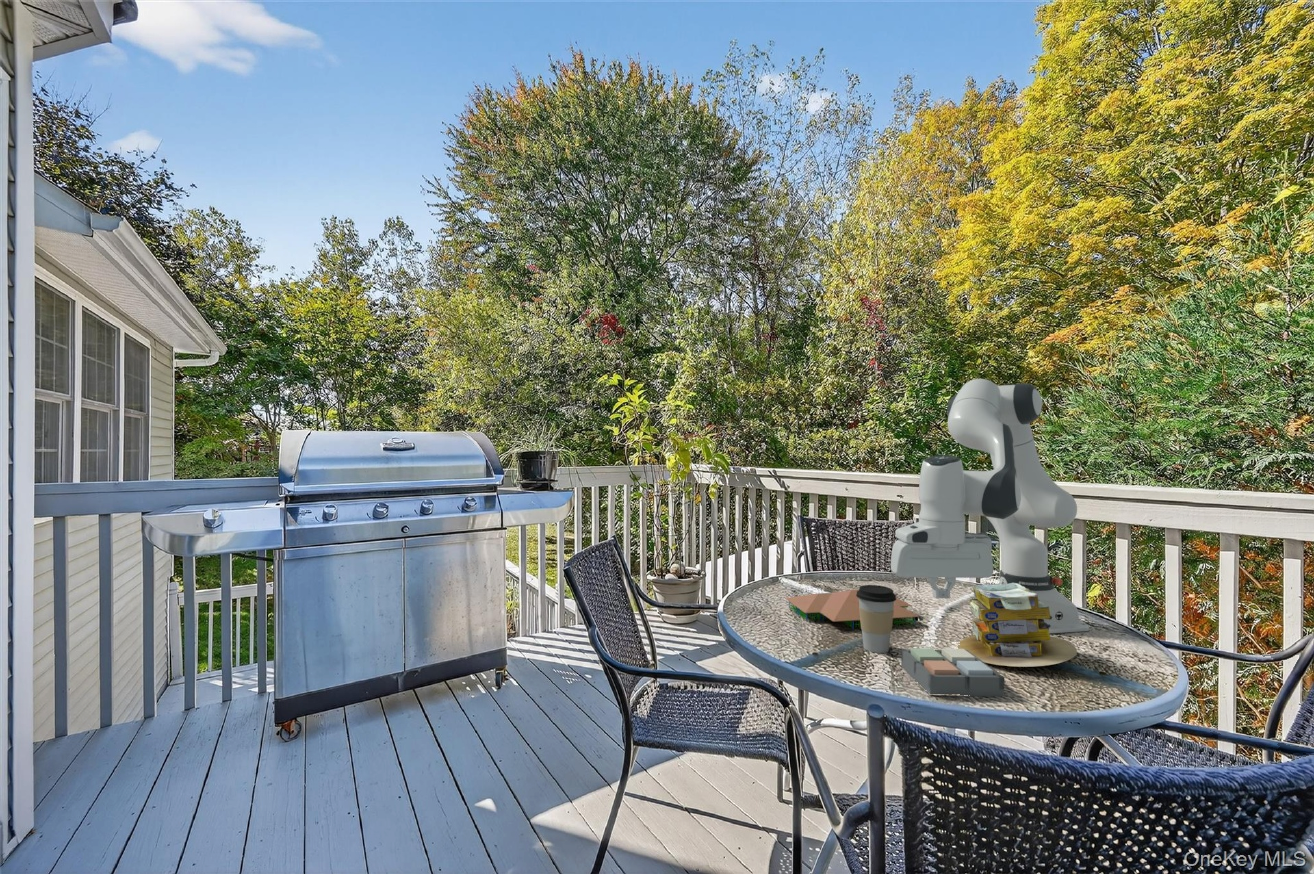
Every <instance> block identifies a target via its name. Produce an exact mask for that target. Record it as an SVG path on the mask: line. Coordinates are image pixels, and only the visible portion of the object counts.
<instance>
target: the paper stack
mask: <svg viewBox="0 0 1314 874" xmlns="http://www.w3.org/2000/svg"><path fill="white" fill-rule="evenodd" d="M1028 589H1029V588H1027V589H1026V588H1025V587H1023V586H1021V585H1020V584H1017V583H1010V584H1003V583H1001V584H1000V583H991V584H988V583H985V584H982V583H981V584H978V585H972V591H973V594H974V597H975V598H974V597H972V598H971V599H969V605H970V611H971V613H972V615H974V617H972V618H971V622H972V623H971V624H972V627H973V635H969V636H967V637H965V638H964V639H962V640H960V641H959V642H960V643H959V642H958V643H957V649H965V650H968V651H969V652H971V653H972V654H973V655H975V656H976V657H977V658H979V659H980V660H981V661H983V662H984V663H985V664H991V665H996V666H1007V667H1019V668H1021V667H1023V668H1024V667H1025V668H1026V667H1032V668H1033V667H1045V666H1051V665H1056V664H1060V663H1064V662H1067V661H1069V660H1071V659H1073V658H1074V657H1075V656H1076V655H1077V653H1078V650H1077V648H1076V647H1075V645H1073V644H1072V643H1071V642H1069V641H1067V640H1064V639H1062V638H1059V637H1056V636H1052V635H1050V633H1049V627H1050V624H1049V625H1048V624H1047V623H1045V622H1044V619H1050V618H1051V617H1050V611H1049V607H1048V606H1047V605H1045V604H1044V603H1043V602H1041V601H1040V600H1038V594H1035V593H1034V592H1032V591H1030V590H1028ZM1031 592H1032V593H1031ZM958 644H960V645H958Z"/></svg>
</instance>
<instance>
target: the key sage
mask: <svg viewBox="0 0 1314 874" xmlns="http://www.w3.org/2000/svg"><path fill="white" fill-rule="evenodd" d="M910 649H911V655H912V656H913V657H914V658H916V659H917V660H918V661H924V660H933V661H943V657H942V656H941V655H940V654H939V653H937V652H936V651H935V650H936V649H934V648H923V647H922V648H919V647H918V648H910Z"/></svg>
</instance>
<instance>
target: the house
mask: <svg viewBox="0 0 1314 874" xmlns="http://www.w3.org/2000/svg"><path fill="white" fill-rule="evenodd" d="M858 590H859V589H851V590H849V589H848V590H843V591H836V592H835V591H834V592H823V593H822V592H821V593H818V592H817V593H813V594H812V593H811V594H806V595H798V596H797V595H796V596H791V597H785V600H786V601H787V602H788V604H790V607H791V610H792V612H794V613H795V614H796V615H797V616H799V614H800V617H801V618H802V619H803V620H804V621H806V623H808V620H806V614H807V616H810V614H811V615H812V616H811V620H812V622H813V621H814V620H813V619H814V616H813V615H814V614H815V616H817V618H818V621H819V622H820V621H821V622H822V621H823V617H824V621H827V619H828V620H830V621H832V622H842V624H843V623H844V624H845V625H846V626H849V628H851V629H852V630H854V629H855V628H854V625H855V626H857V625H858V626H859V623H854V621H860V612H859V606H860V605H859V598H858V597H857V596H856V594H857V591H858ZM908 607H913V605H912V604H909V603H907V602H906V601H904V600H901V599H900V598H898V597H896V600H895V601H894V607H893V609H894V613H893V619H896V627H897V626H898V624H899V621H898V620H899V619H904V618H905V620H902V621H901V623H904V624H905V625H906V623H909V622H910V625H911V626H912V625H913V626H914V625H915V626H916V618H919V617H920V615H918V614H916V613H914V612H913V611H910V610H909V609H906V608H908ZM826 618H827V619H826ZM907 618H908V620H907ZM905 625H904V626H905ZM910 625H909V626H910ZM906 626H907V625H906Z"/></svg>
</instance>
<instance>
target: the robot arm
mask: <svg viewBox="0 0 1314 874" xmlns="http://www.w3.org/2000/svg"><path fill="white" fill-rule="evenodd" d="M946 408H947V429H948V432H949V434H950V436H951V437H952V438H953V439H954V440H955V441H956V442H957V443H958V444H960V445H962V446H963V447H966V448H968V449H972V450H977V451H982V452H984V453H987V454H990V455H989V456H990V460H991V463H992V464H991V465H992V468H993V469H991V470H965V469H964V466H963V461H962V459H961V458H960V457H958V456H954V455H948V454H947V455H945V454H943V455H940V454H939V455H933V456H928V457H926V458H925V459H923V460H922V464H921V468H920V474H919V484H918V485H919V486H918V499H919V503H920V510H919V514H918V521H917V522H914V523H911V524H909V525H906V526H901V527H898V528H896V530H895V533H894V534H895V537H896V538H897V540H896V541H895V542H894V543H893V545H892V550H891V557H890V558H891V559H890V570H891V572H892V573H893V574H894V575H895V576H897V577H899V578H926V579H927V580H926V581H927V582H928V583H929V585H930V587H931V589H932V597H933V598H934V599H948V600H949V599H950V598H951V591H952V589H953V588H954V587H955V585H956V584H957V579H959V578H960V579H963V578H964V579H968V578H969V579H971V578H972V579H977V578H979V579H980V578H981V579H984V578H985V579H989V578H991V577H992V576H993V574H994V563H993V556H992V549H993V548H992V547H993V545H992V544H993V542H992V539H991V537H990V536H989V535H987V534H985V532H977V533H975V532H966V516H965V515H970V516H971V515H972V516H981V517H983V516H984V517H985V518H986V519H987V520H989V522H990V523H991V525H992V526H993V528H994V530H995V532H996V534H997V537H998V540H999V543H1000V552H1001V555H1000V558H1001V569H1000V570H999V584H1001V583H1003V584H1010V583H1017V584H1020V585H1021V586H1023V587H1025V588H1026V589H1027V588H1029V589H1028V590H1030V591H1032V592H1034V593H1035V594H1038V600H1040V601H1041V602H1043V603H1044V604H1045V605H1047V606H1048V607H1049V611H1050V617H1051V618H1050V619H1044V622H1045V623H1047V624H1048V625H1049V624H1050V627H1049V634H1059V633H1060V634H1061V633H1062V634H1063V633H1077V632H1079V633H1080V632H1089V631H1090V627H1089V625H1088V624H1087V623H1086V622H1084V621H1082V620H1080V616H1079V611H1078V608H1077V606H1076V605H1075V603H1074V602H1072V601H1071V599H1068V598H1067V597H1066V596H1065V595H1063V593H1060V592H1059V591H1058V590H1057V589H1056V588H1055V587H1054V585H1056V586H1059V587H1060V586H1062V585H1063V580H1062V578H1059V577H1056V576H1054V577H1052V576H1050V575H1049V574H1048V559H1049V558H1048V554H1049V553H1048V552H1049V551H1048V548H1047V546H1046V545H1045V544H1044V542H1042V541H1041V540H1040V539H1038V538H1036V537H1035V535H1034V534H1033V533H1032V531H1031V530H1030V527H1029V526H1033V527H1041V528H1048V529H1049V528H1065V527H1067V526H1069V525H1070V524H1072V523H1073V522H1074V520H1075V518H1077V513H1078V505H1077V502H1076V500H1075V498H1074V497H1073V495H1072V493H1070V492H1068V491H1066V490H1065V489H1063V488H1061V486H1059V485H1058V484H1057V483H1056V482H1054V480H1053V479H1051V477H1050V476H1049V475H1048V474H1047V472H1046V471H1045V469H1044V467H1043V465H1042V463H1041V461H1040V458H1039V454H1038V451H1037V447H1036V443H1035V438H1034V434H1033V430H1032V428H1031V423H1032V422H1034V421H1036V420H1037V419H1038V418H1039V417H1040V416H1041V413H1042V408H1043V399H1042V396H1041V394H1040V393H1039V391H1038V389H1037V387H1035V386H1034V385H1033V384H1031V383H1025V382H1024V383H1016V384H1005V385H1004V384H1003V385H997V384H996V383H994V382H993V381H991V380H989V379H986V378H976V379H971V380H969V381H967V382H966V383H964V384H963V386H961V388H960V389H959V391H958V392H957V394H954V395H953V396H952V397H951V398H950V399H949V401H948V403H947V407H946ZM939 578H941V579H942V578H944V580H945V581H946V583H945V584H944V586H943V588H940V587H938V586H937V583H939ZM1032 592H1031V593H1032Z"/></svg>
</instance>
